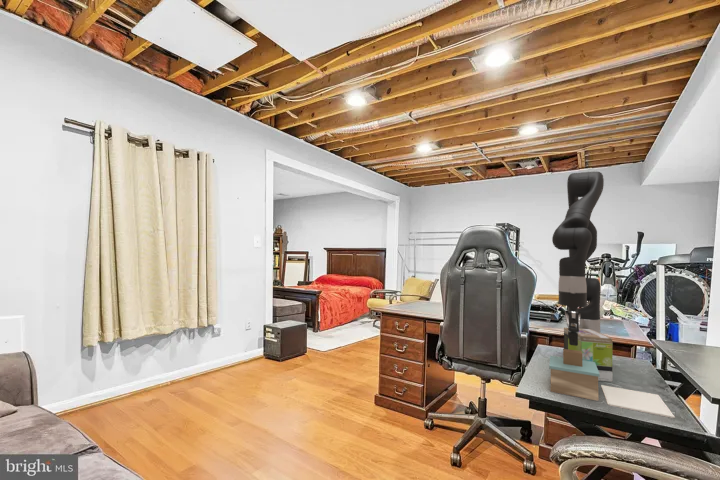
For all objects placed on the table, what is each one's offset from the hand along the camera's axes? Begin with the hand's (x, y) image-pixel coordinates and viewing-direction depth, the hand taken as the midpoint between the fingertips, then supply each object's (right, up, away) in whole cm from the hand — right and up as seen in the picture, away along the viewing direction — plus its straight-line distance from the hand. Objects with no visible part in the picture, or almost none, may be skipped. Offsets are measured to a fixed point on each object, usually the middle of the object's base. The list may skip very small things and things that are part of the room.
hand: (572, 342), depth 105 cm
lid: (0, -9, 0) cm, 9 cm away
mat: (+13, -15, -8) cm, 21 cm away
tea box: (+14, -16, +14) cm, 26 cm away
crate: (0, -15, 0) cm, 15 cm away
